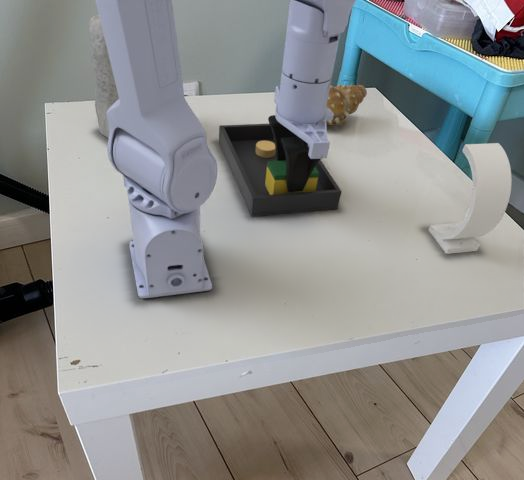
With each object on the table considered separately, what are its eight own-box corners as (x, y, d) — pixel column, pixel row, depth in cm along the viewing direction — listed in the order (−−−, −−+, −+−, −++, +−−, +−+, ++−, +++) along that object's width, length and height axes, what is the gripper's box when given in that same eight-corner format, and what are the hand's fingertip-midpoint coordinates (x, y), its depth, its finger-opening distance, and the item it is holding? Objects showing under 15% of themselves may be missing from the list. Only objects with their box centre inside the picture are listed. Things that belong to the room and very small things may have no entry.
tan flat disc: (277, 157, 74) (278, 149, 73) (258, 158, 74) (259, 151, 73) (272, 147, 76) (272, 139, 75) (253, 148, 75) (253, 140, 74)
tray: (337, 209, 68) (341, 191, 66) (251, 216, 65) (253, 198, 63) (293, 139, 80) (296, 122, 77) (218, 142, 76) (219, 125, 74)
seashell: (313, 124, 90) (349, 72, 85) (341, 152, 87) (379, 100, 82) (283, 110, 83) (319, 52, 78) (311, 140, 80) (352, 82, 75)
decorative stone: (155, 113, 81) (147, 4, 69) (176, 128, 78) (172, 18, 67) (93, 129, 75) (75, 15, 64) (114, 146, 73) (99, 30, 61)
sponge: (306, 182, 69) (310, 158, 67) (314, 196, 67) (319, 172, 65) (264, 185, 68) (267, 161, 65) (272, 199, 66) (275, 175, 63)
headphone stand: (458, 227, 68) (498, 143, 59) (481, 256, 64) (528, 170, 55) (428, 230, 67) (464, 144, 58) (449, 259, 63) (492, 172, 54)
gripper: (364, 101, 53) (337, 210, 63) (318, 47, 62) (301, 151, 72) (302, 102, 51) (285, 215, 61) (263, 47, 60) (254, 154, 70)
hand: (290, 181), depth 67 cm, fingers closed on sponge, 3 cm apart
